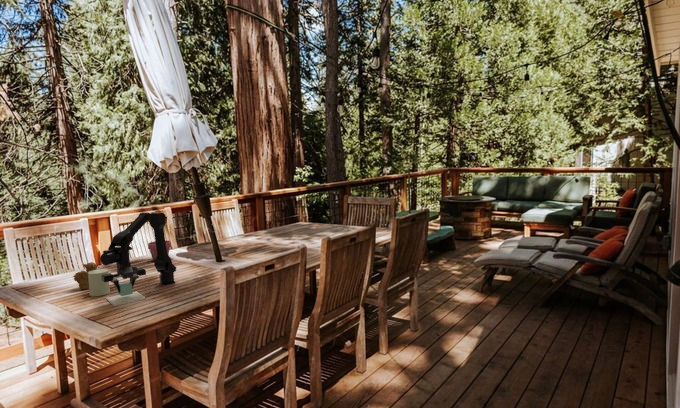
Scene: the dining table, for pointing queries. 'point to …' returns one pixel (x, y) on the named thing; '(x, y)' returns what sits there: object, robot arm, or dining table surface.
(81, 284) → the stuffed squirrel
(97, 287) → the can
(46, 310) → the dining table surface
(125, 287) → the cube
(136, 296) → the plate
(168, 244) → the plant pot
